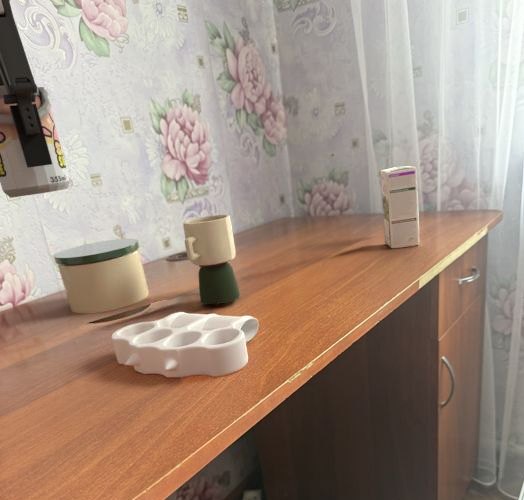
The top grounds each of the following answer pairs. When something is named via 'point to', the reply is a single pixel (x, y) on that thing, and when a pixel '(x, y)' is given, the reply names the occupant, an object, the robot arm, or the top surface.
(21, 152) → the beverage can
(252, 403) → the top surface
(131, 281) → the jar
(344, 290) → the top surface
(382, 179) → the syrup box
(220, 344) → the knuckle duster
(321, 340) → the top surface
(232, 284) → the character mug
